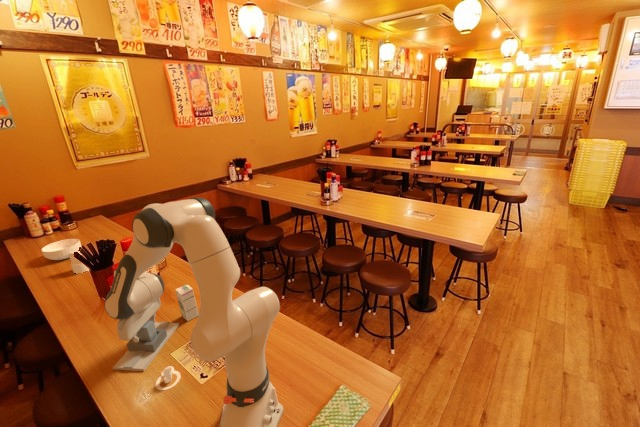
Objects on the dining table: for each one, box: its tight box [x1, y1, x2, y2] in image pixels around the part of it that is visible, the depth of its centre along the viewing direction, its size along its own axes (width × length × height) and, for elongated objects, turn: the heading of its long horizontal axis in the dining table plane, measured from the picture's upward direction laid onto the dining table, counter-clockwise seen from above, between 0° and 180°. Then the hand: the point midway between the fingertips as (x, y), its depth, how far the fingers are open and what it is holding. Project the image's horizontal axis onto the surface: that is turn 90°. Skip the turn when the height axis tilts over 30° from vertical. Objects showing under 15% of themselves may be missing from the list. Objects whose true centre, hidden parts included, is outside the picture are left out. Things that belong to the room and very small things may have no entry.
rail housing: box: [112, 321, 180, 372], centre depth 120 cm, size 24×12×4 cm, turn 175°
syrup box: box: [175, 283, 199, 322], centre depth 134 cm, size 6×6×14 cm
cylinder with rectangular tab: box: [68, 250, 90, 275], centre depth 178 cm, size 9×9×12 cm
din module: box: [136, 320, 157, 342], centre depth 118 cm, size 4×7×9 cm, turn 85°
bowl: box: [40, 238, 82, 261], centre depth 198 cm, size 20×20×8 cm
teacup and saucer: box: [154, 365, 181, 391], centre depth 104 cm, size 9×8×4 cm
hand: (145, 332), depth 118 cm, fingers open, 8 cm apart
